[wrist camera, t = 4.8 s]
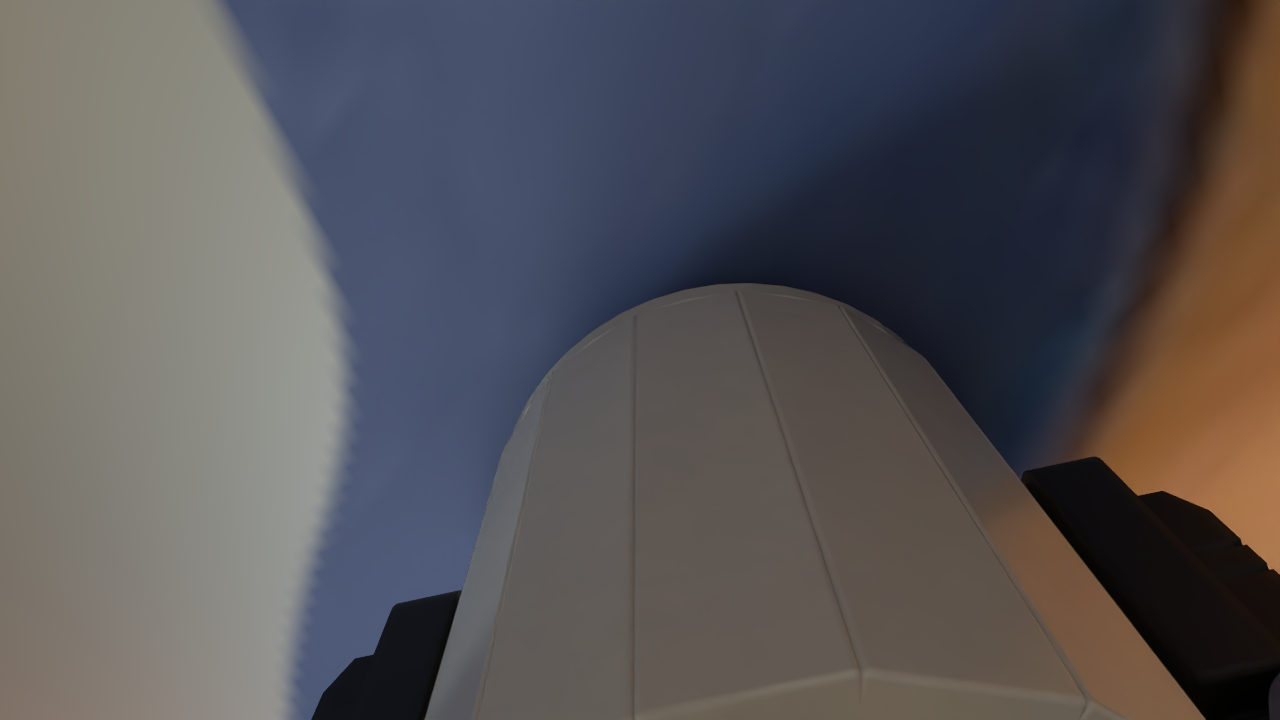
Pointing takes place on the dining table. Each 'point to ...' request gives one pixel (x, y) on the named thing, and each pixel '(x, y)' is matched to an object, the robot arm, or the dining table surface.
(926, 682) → the cup
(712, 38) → the dining table surface
